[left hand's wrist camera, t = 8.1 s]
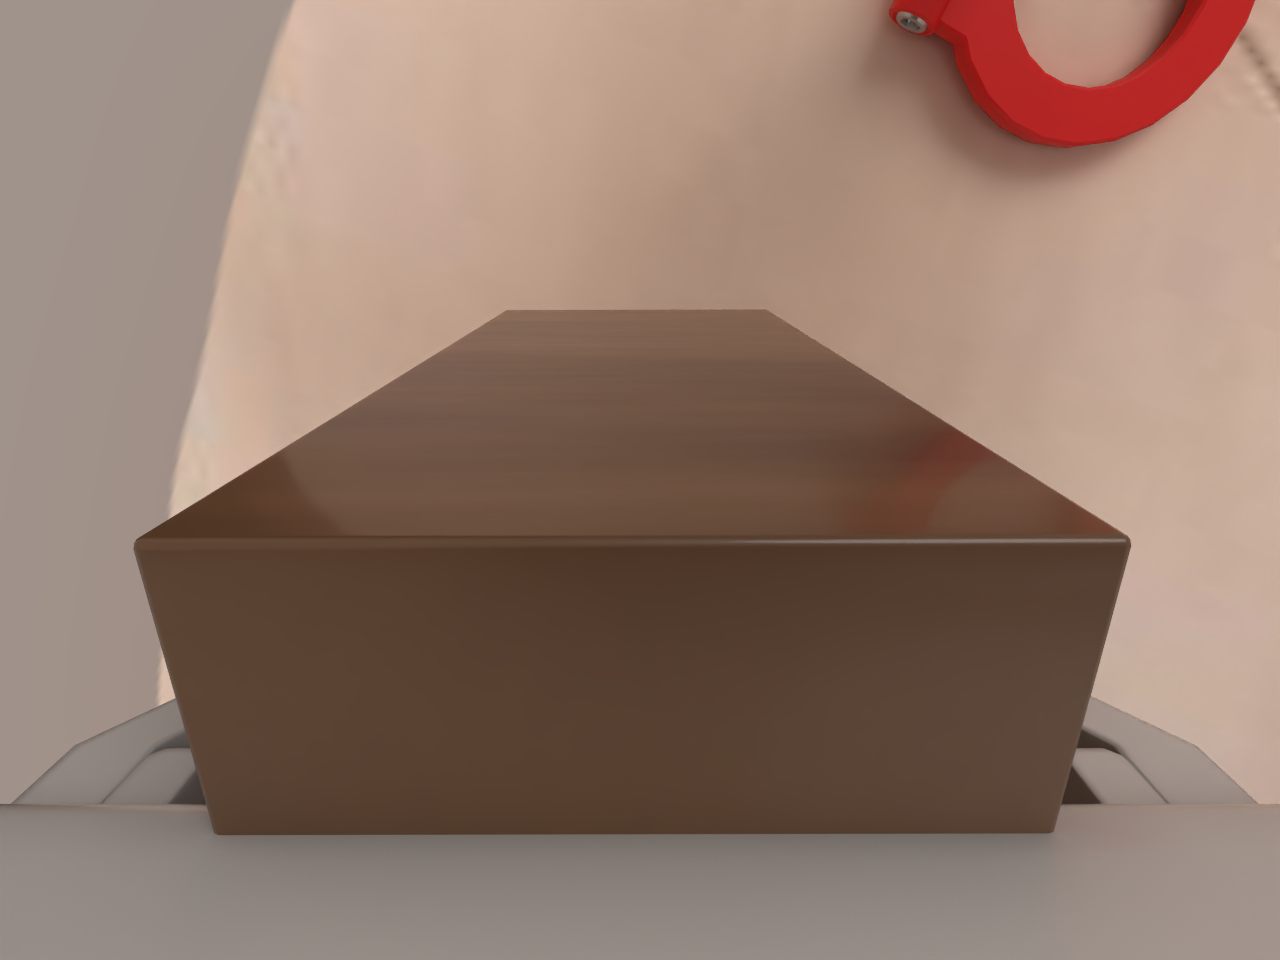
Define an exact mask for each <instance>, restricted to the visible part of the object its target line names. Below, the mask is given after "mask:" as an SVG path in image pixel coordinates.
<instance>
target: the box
mask: <svg viewBox="0 0 1280 960" xmlns="http://www.w3.org/2000/svg"><path fill="white" fill-rule="evenodd" d="M1130 548H1131V542H1130V539H1129V537H1128V536H1127V535H1125V534H1124V533H1122V532H1121V531H1119V530H1117V529H1116V528H1114V527H1113V526H1111V525H1109V524H1108V523H1106V522H1105V521H1103V520H1101V519H1100V518H1098V517H1097V516H1095V515H1093V514H1092V513H1090V512H1089V511H1087V510H1085V509H1084V508H1082V507H1081V506H1079V505H1077V504H1076V503H1074V502H1073V501H1071V500H1069V499H1068V498H1066V497H1065V496H1063V495H1061V494H1060V493H1058V492H1057V491H1055V490H1053V489H1052V488H1050V487H1049V486H1047V485H1045V484H1044V483H1042V482H1041V481H1039V480H1037V479H1036V478H1034V477H1033V476H1031V475H1029V474H1028V473H1026V472H1025V471H1023V470H1022V469H1020V468H1018V467H1017V466H1015V465H1014V464H1012V463H1010V462H1009V461H1007V460H1006V459H1004V458H1002V457H1001V456H999V455H998V454H996V453H994V452H993V451H991V450H990V449H988V448H986V447H985V446H983V445H982V444H980V443H978V442H977V441H975V440H974V439H972V438H970V437H969V436H967V435H966V434H964V433H962V432H961V431H959V430H958V429H956V428H954V427H953V426H951V425H950V424H948V423H946V422H945V421H943V420H942V419H940V418H938V417H937V416H935V415H934V414H932V413H930V412H929V411H927V410H926V409H924V408H922V407H921V406H919V405H918V404H916V403H914V402H913V401H911V400H910V399H908V398H906V397H905V396H903V395H902V394H900V393H898V392H897V391H895V390H894V389H892V388H890V387H889V386H887V385H886V384H884V383H883V382H881V381H879V380H878V379H876V378H875V377H873V376H871V375H870V374H868V373H867V372H865V371H863V370H862V369H860V368H859V367H857V366H855V365H854V364H852V363H851V362H849V361H847V360H846V359H844V358H843V357H841V356H839V355H838V354H836V353H835V352H833V351H831V350H830V349H828V348H827V347H825V346H823V345H822V344H820V343H819V342H817V341H815V340H814V339H812V338H811V337H809V336H807V335H806V334H804V333H803V332H801V331H799V330H798V329H796V328H795V327H793V326H791V325H790V324H788V323H787V322H785V321H783V320H782V319H780V318H779V317H777V316H775V315H774V314H772V313H771V312H769V311H767V310H507V311H505V312H503V313H502V314H500V315H498V316H497V317H495V318H494V319H492V320H490V321H489V322H487V323H486V324H484V325H482V326H481V327H479V328H477V329H476V330H474V331H473V332H471V333H469V334H468V335H466V336H465V337H463V338H461V339H460V340H458V341H456V342H455V343H453V344H452V345H450V346H448V347H447V348H445V349H443V350H442V351H440V352H439V353H437V354H435V355H434V356H432V357H431V358H429V359H427V360H426V361H424V362H422V363H421V364H419V365H418V366H416V367H414V368H413V369H411V370H410V371H408V372H406V373H405V374H403V375H401V376H400V377H398V378H397V379H395V380H393V381H392V382H390V383H389V384H387V385H385V386H384V387H382V388H380V389H379V390H377V391H376V392H374V393H372V394H371V395H369V396H367V397H366V398H364V399H363V400H361V401H359V402H358V403H356V404H355V405H353V406H351V407H350V408H348V409H346V410H345V411H343V412H342V413H340V414H338V415H337V416H335V417H334V418H332V419H330V420H329V421H327V422H325V423H324V424H322V425H321V426H319V427H317V428H316V429H314V430H313V431H311V432H309V433H308V434H306V435H304V436H303V437H301V438H300V439H298V440H296V441H295V442H293V443H291V444H290V445H288V446H287V447H285V448H283V449H282V450H280V451H279V452H277V453H275V454H274V455H272V456H270V457H269V458H267V459H266V460H264V461H262V462H261V463H259V464H258V465H256V466H254V467H253V468H251V469H249V470H248V471H246V472H245V473H243V474H241V475H240V476H238V477H237V478H235V479H233V480H232V481H230V482H228V483H227V484H225V485H224V486H222V487H220V488H219V489H217V490H215V491H214V492H212V493H211V494H209V495H207V496H206V497H204V498H203V499H201V500H199V501H198V502H196V503H194V504H193V505H191V506H190V507H188V508H186V509H185V510H183V511H182V512H180V513H178V514H177V515H175V516H173V517H172V518H170V519H169V520H167V521H165V522H164V523H162V524H161V525H159V526H157V527H156V528H154V529H152V530H151V531H149V532H148V533H146V534H144V535H143V536H141V537H140V538H138V539H137V540H136V541H135V543H134V552H135V556H136V559H137V563H138V566H139V570H140V574H141V577H142V581H143V584H144V588H145V591H146V595H147V598H148V602H149V605H150V609H151V612H152V616H153V619H154V623H155V626H156V630H157V633H158V637H159V640H160V644H161V648H162V651H163V655H164V658H165V662H166V665H167V669H168V672H169V676H170V679H171V683H172V686H173V690H174V693H175V697H176V700H177V704H178V707H179V711H180V714H181V718H182V721H183V725H184V729H185V732H186V736H187V739H188V743H189V746H190V750H191V753H192V757H193V760H194V764H195V767H196V771H197V774H198V778H199V781H200V785H201V788H202V792H203V795H204V799H205V802H206V806H207V809H208V813H209V817H210V820H211V824H212V827H213V831H214V833H215V834H217V835H555V834H1024V833H1051V832H1054V829H1055V825H1056V822H1057V818H1058V814H1059V811H1060V807H1061V803H1062V799H1063V796H1064V792H1065V788H1066V785H1067V781H1068V777H1069V774H1070V770H1071V766H1072V762H1073V759H1074V755H1075V751H1076V748H1077V744H1078V740H1079V737H1080V733H1081V729H1082V725H1083V722H1084V718H1085V714H1086V711H1087V707H1088V703H1089V700H1090V696H1091V692H1092V688H1093V685H1094V681H1095V677H1096V674H1097V670H1098V666H1099V663H1100V659H1101V655H1102V651H1103V648H1104V644H1105V640H1106V637H1107V633H1108V629H1109V626H1110V622H1111V618H1112V615H1113V611H1114V607H1115V603H1116V600H1117V596H1118V592H1119V589H1120V585H1121V581H1122V578H1123V574H1124V570H1125V566H1126V563H1127V559H1128V555H1129V552H1130Z"/></svg>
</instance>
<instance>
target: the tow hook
mask: <svg viewBox="0 0 1280 960" xmlns="http://www.w3.org/2000/svg"><path fill="white" fill-rule="evenodd" d="M1254 2H1255V0H1187V3H1186V5H1185V8H1184V11H1183V13H1182V14H1181V16H1180V18H1179V19H1178V21H1177V23H1176V24H1175V26H1174V28H1173V29H1172V31H1171V33H1170V34H1169V36H1168V38H1167V39H1166V40H1165V41H1164V42H1163V43H1162V45H1161V46H1160V47H1159V48H1158V49H1157V50H1156V51H1155V52H1154V54H1153V55H1152V56H1151V57H1150V58H1149V59H1148V60H1147V61H1146V62H1145V63H1143V64H1142V65H1141V66H1139V67H1138V68H1136V69H1135V70H1134V71H1132V72H1131V73H1130V74H1128V75H1127V76H1126V77H1124V78H1122V79H1120V80H1117V81H1115V82H1113V83H1110V84H1108V85H1106V86H1100V87H1093V88H1086V87H1080V86H1075V85H1069V84H1065V83H1063V82H1061V81H1059V80H1058V79H1056V78H1054V77H1052V76H1050V75H1049V74H1047V73H1045V72H1044V71H1043V70H1042V69H1041V67H1040V66H1039V65H1038V64H1037V63H1036V62H1035V61H1034V60H1033V58H1032V57H1031V56H1030V55H1029V54H1028V51H1027V49H1026V47H1025V45H1024V43H1023V40H1022V38H1021V36H1020V34H1019V32H1018V28H1017V22H1016V15H1015V9H1014V3H1013V0H895V1H894V3H893V4H892V6H891V8H890V10H889V15H890V17H891V19H892V20H893V21H894V22H895V23H896V24H897V25H899V26H900V27H902V28H903V29H905V30H907V31H909V32H912V33H915V34H918V35H924V36H925V35H932V34H933V33H935V34H937V35H938V36H940V37H942V38H943V39H945V40H946V41H948V42H950V43H951V44H953V48H954V53H955V58H956V63H957V66H958V68H959V70H960V73H961V75H962V77H963V79H964V81H965V83H966V85H967V87H968V89H969V91H970V93H971V95H972V97H973V99H974V100H975V102H976V103H977V104H978V105H979V106H980V107H981V108H982V109H983V110H984V111H985V112H986V113H987V114H988V115H989V116H990V117H991V118H992V119H993V120H994V122H995V123H996V124H997V125H998V126H1000V127H1002V128H1003V129H1005V130H1007V131H1009V132H1011V133H1013V134H1015V135H1017V136H1019V137H1020V138H1022V139H1024V140H1026V141H1028V142H1031V143H1038V144H1044V145H1050V146H1056V147H1062V148H1066V147H1074V146H1081V145H1088V144H1096V143H1103V142H1110V141H1115V140H1118V139H1120V138H1122V137H1125V136H1127V135H1129V134H1132V133H1134V132H1137V131H1139V130H1141V129H1144V128H1146V127H1149V126H1151V125H1153V124H1154V123H1155V122H1157V121H1158V120H1160V119H1161V118H1162V117H1164V116H1165V115H1167V114H1168V113H1169V112H1171V111H1172V110H1174V109H1175V108H1176V107H1178V106H1179V105H1181V104H1182V103H1183V102H1185V101H1186V100H1188V99H1189V97H1190V96H1191V95H1192V94H1193V93H1194V92H1195V91H1196V90H1197V89H1198V88H1199V87H1200V86H1201V85H1202V83H1203V82H1204V81H1205V80H1206V79H1207V78H1208V77H1209V76H1210V75H1211V74H1212V73H1213V72H1214V71H1215V69H1216V68H1217V67H1218V66H1219V65H1220V64H1221V62H1222V61H1223V59H1224V57H1225V56H1226V54H1227V53H1228V51H1229V49H1230V48H1231V46H1232V45H1233V43H1234V41H1235V40H1236V38H1237V37H1238V35H1239V33H1240V32H1241V30H1242V29H1243V27H1244V26H1245V24H1246V22H1247V20H1248V17H1249V15H1250V12H1251V10H1252V7H1253V4H1254Z"/></svg>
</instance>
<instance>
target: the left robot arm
mask: <svg viewBox="0 0 1280 960" xmlns="http://www.w3.org/2000/svg"><path fill="white" fill-rule="evenodd" d="M0 960H1280V804H1258V803H1257V802H1256V801H1255V800H1254V799H1253V798H1252V797H1251V796H1250V795H1249V794H1248V793H1247V792H1245V791H1244V790H1243V789H1242V788H1241V787H1240V786H1239V785H1238V784H1237V783H1236V782H1235V781H1234V780H1233V779H1232V778H1230V777H1229V776H1228V775H1227V774H1226V773H1225V772H1224V771H1223V770H1222V769H1221V768H1220V767H1219V766H1218V765H1217V764H1215V763H1214V762H1213V761H1212V760H1211V759H1210V758H1209V757H1208V756H1207V755H1206V754H1205V753H1204V752H1203V751H1202V750H1201V749H1199V748H1198V747H1197V746H1195V745H1193V744H1191V743H1189V742H1187V741H1185V740H1183V739H1181V738H1178V737H1176V736H1174V735H1172V734H1170V733H1168V732H1166V731H1164V730H1161V729H1159V728H1157V727H1155V726H1153V725H1151V724H1149V723H1147V722H1144V721H1142V720H1140V719H1138V718H1136V717H1134V716H1132V715H1130V714H1128V713H1125V712H1123V711H1121V710H1119V709H1117V708H1115V707H1113V706H1111V705H1108V704H1106V703H1104V702H1102V701H1100V700H1098V699H1096V698H1094V697H1091V696H1090V700H1089V703H1088V707H1087V711H1086V714H1085V718H1084V722H1083V725H1082V729H1081V733H1080V737H1079V740H1078V744H1077V748H1076V751H1075V755H1074V759H1073V762H1072V766H1071V770H1070V774H1069V777H1068V781H1067V785H1066V788H1065V792H1064V796H1063V799H1062V803H1061V807H1060V811H1059V814H1058V818H1057V822H1056V825H1055V829H1054V832H1051V833H1024V834H555V835H217V834H215V833H214V831H213V827H212V824H211V820H210V817H209V813H208V809H207V806H206V802H205V799H204V795H203V792H202V788H201V785H200V781H199V778H198V774H197V771H196V767H195V764H194V760H193V757H192V753H191V750H190V746H189V743H188V739H187V736H186V732H185V729H184V725H183V721H182V718H181V714H180V711H179V707H178V704H177V700H176V698H175V699H173V700H171V701H169V702H167V703H165V704H163V705H160V706H158V707H156V708H154V709H152V710H150V711H148V712H145V713H143V714H141V715H139V716H137V717H135V718H133V719H130V720H128V721H126V722H124V723H122V724H120V725H118V726H115V727H113V728H111V729H109V730H107V731H105V732H103V733H100V734H98V735H96V736H94V737H92V738H90V739H87V740H85V741H83V742H81V743H79V744H77V745H75V746H74V747H73V748H72V749H70V750H69V751H68V752H67V753H66V754H65V755H64V756H63V757H62V758H61V759H59V760H58V761H57V762H56V763H55V764H54V765H53V766H52V767H51V768H50V769H49V770H47V771H46V772H45V773H44V774H43V775H42V776H41V777H40V778H39V779H38V780H37V781H35V782H34V783H33V784H32V785H31V786H30V787H29V788H28V789H27V790H26V791H24V792H23V793H22V794H21V795H20V796H19V797H18V798H17V799H16V800H15V801H14V802H12V803H11V804H0Z"/></svg>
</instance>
